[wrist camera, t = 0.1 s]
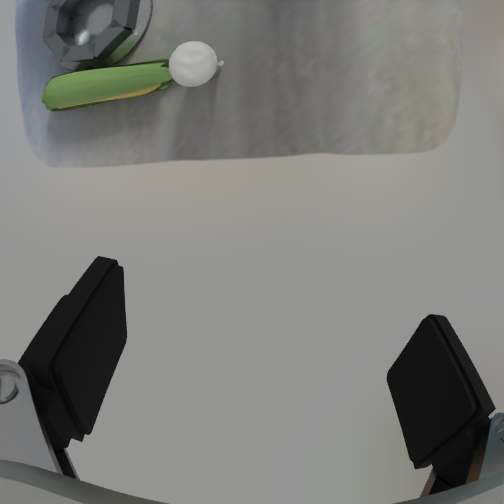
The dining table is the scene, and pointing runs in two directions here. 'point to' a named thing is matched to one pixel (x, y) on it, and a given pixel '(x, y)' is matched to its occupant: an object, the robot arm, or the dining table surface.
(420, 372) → the robot arm
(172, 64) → the milkshake
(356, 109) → the dining table surface
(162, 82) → the edible corn
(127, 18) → the collar
